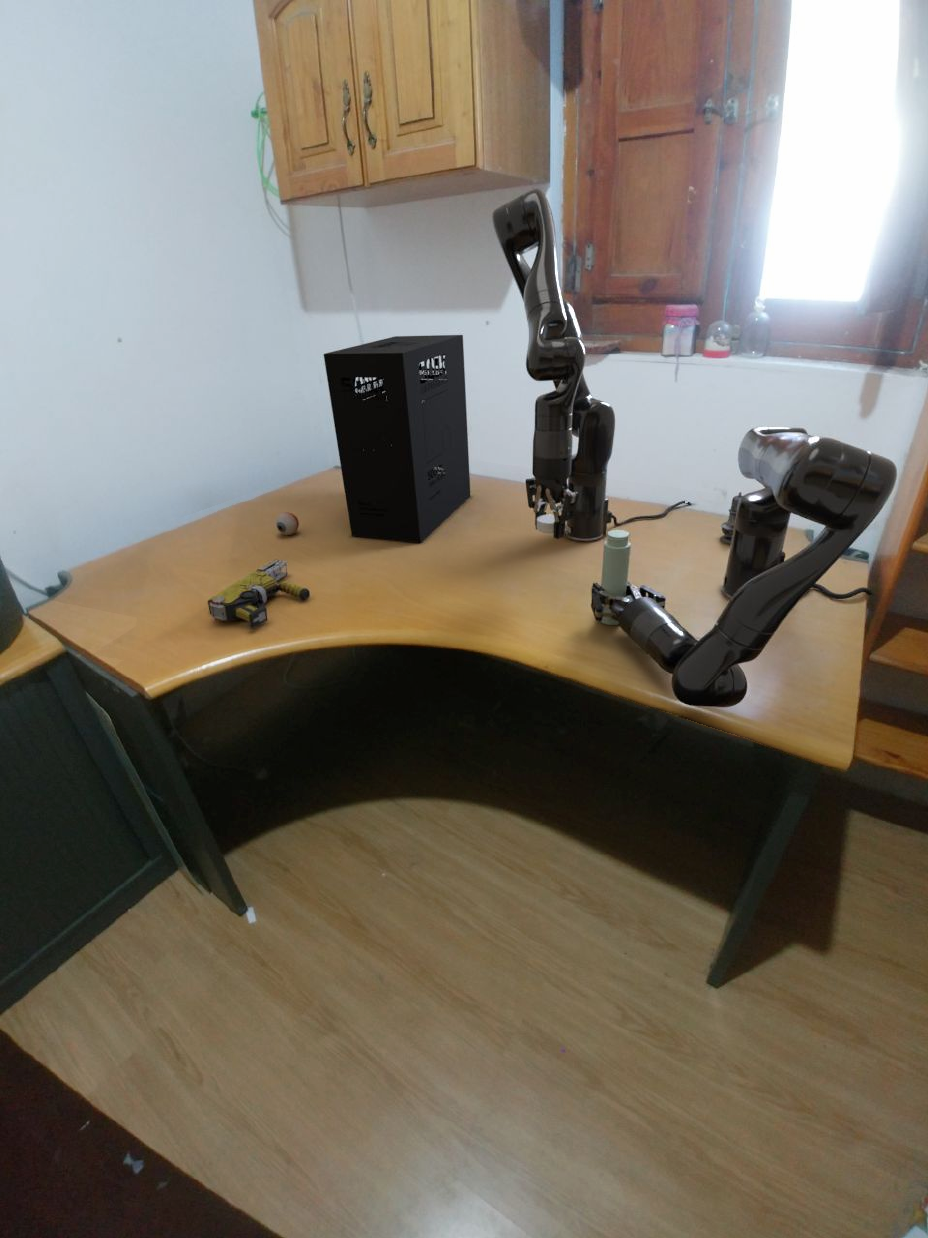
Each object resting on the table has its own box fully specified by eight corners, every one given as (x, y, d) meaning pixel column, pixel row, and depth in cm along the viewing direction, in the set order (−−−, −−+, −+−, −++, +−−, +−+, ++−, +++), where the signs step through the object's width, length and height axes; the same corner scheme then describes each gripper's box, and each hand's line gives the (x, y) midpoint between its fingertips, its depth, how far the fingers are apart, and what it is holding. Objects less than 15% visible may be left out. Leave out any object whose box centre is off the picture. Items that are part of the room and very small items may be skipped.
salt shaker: (746, 544, 143) (756, 496, 137) (720, 544, 145) (729, 495, 139) (742, 535, 148) (751, 488, 142) (716, 534, 150) (724, 487, 144)
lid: (547, 522, 127) (547, 512, 126) (567, 528, 124) (567, 518, 123) (531, 529, 124) (531, 519, 123) (551, 535, 121) (551, 525, 120)
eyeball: (273, 537, 164) (268, 516, 161) (287, 528, 169) (282, 508, 166) (291, 539, 161) (286, 518, 158) (305, 530, 166) (301, 510, 163)
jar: (608, 627, 115) (615, 540, 106) (594, 616, 118) (599, 531, 109) (628, 621, 116) (637, 534, 107) (613, 610, 120) (620, 526, 111)
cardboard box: (410, 491, 192) (395, 336, 169) (470, 495, 185) (462, 334, 162) (351, 535, 161) (323, 353, 139) (420, 542, 155) (402, 352, 132)
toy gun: (329, 568, 137) (273, 556, 141) (266, 615, 117) (202, 599, 121) (331, 586, 139) (275, 574, 143) (268, 635, 119) (205, 620, 123)
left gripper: (514, 447, 120) (514, 527, 128) (561, 462, 109) (558, 549, 118) (543, 441, 123) (541, 520, 132) (592, 455, 113) (587, 540, 121)
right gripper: (692, 601, 102) (642, 561, 116) (614, 615, 99) (573, 573, 113) (686, 639, 105) (638, 596, 120) (611, 653, 103) (571, 607, 117)
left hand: (549, 533), depth 125 cm, fingers closed on lid, 5 cm apart
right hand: (607, 585), depth 116 cm, fingers closed on jar, 4 cm apart
